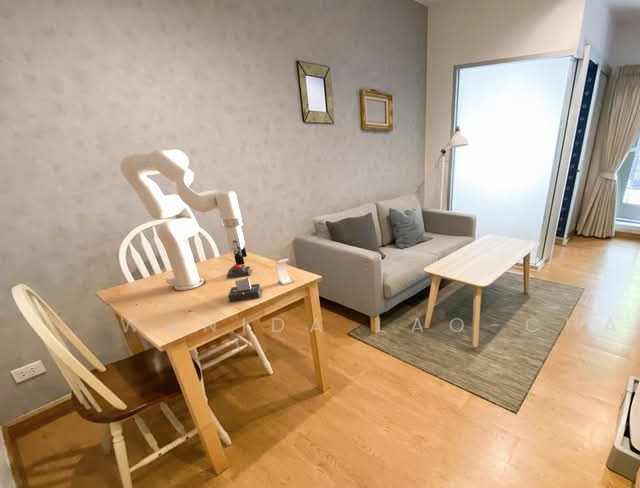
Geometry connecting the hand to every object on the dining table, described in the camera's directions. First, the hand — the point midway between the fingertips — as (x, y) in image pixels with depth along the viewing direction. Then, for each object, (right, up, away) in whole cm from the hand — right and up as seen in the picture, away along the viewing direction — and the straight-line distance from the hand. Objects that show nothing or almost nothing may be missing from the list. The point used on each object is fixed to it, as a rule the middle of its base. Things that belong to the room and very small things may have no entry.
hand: (241, 260), depth 144 cm
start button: (-15, -2, +26) cm, 30 cm away
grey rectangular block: (-1, -13, +4) cm, 13 cm away
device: (-1, -15, +5) cm, 16 cm away
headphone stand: (+13, -9, +18) cm, 24 cm away
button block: (-15, -5, +28) cm, 32 cm away
